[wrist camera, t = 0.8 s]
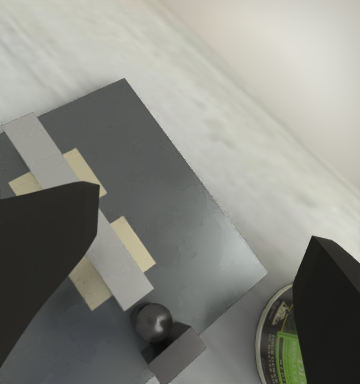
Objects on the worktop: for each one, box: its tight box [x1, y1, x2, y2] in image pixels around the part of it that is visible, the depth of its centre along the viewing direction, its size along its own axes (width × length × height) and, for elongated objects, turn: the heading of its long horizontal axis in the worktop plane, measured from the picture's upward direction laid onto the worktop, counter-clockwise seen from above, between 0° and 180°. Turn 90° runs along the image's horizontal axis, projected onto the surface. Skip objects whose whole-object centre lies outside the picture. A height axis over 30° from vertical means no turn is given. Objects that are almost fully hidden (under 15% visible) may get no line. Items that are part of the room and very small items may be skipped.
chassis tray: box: [0, 78, 268, 384], centre depth 20 cm, size 18×19×5 cm
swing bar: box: [2, 112, 173, 342], centre depth 20 cm, size 2×16×3 cm, turn 36°
